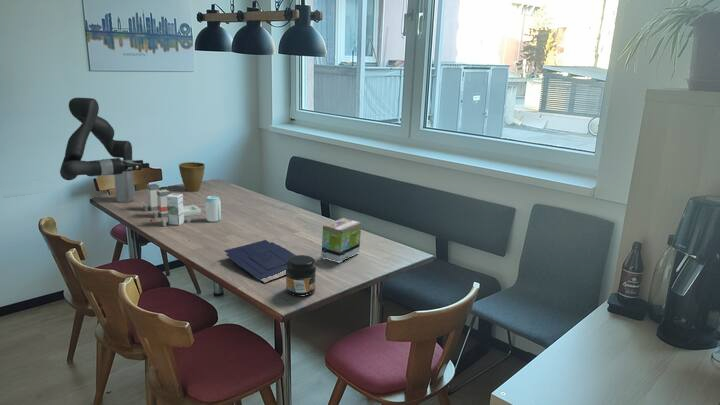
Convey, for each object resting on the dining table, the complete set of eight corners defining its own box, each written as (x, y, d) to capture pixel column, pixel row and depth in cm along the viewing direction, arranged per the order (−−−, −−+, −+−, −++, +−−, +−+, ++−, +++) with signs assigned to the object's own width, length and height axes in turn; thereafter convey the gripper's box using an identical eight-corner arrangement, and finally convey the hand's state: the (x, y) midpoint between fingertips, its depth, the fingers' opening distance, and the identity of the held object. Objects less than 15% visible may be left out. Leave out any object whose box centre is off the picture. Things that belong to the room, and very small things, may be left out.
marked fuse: (158, 215, 260) (156, 190, 256) (167, 213, 263) (165, 189, 259) (161, 217, 256) (160, 192, 253) (170, 216, 259) (169, 191, 256)
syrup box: (184, 222, 251) (183, 193, 248) (179, 225, 246) (177, 196, 242) (173, 221, 252) (171, 192, 248) (167, 224, 246) (166, 195, 242)
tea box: (340, 264, 209) (341, 230, 205) (320, 258, 214) (321, 225, 210) (360, 254, 221) (361, 221, 217) (340, 248, 226) (342, 216, 222)
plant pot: (175, 192, 304) (173, 165, 300) (187, 186, 319) (186, 161, 314) (198, 194, 302) (197, 167, 298) (209, 188, 316) (209, 163, 312)
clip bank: (136, 210, 265) (135, 206, 265) (165, 206, 275) (165, 202, 274) (159, 227, 242) (159, 222, 242) (190, 221, 252) (190, 217, 251)
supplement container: (299, 300, 176) (300, 268, 173) (279, 290, 183) (279, 259, 179) (321, 291, 184) (322, 260, 180) (301, 282, 190) (302, 252, 187)
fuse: (148, 208, 270) (146, 184, 266) (157, 207, 273) (155, 183, 269) (151, 210, 267) (149, 186, 263) (160, 209, 270) (159, 185, 266)
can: (203, 220, 255) (202, 197, 252) (213, 217, 261) (212, 194, 258) (213, 223, 252) (213, 199, 248) (223, 219, 258) (223, 196, 255)
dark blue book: (268, 244, 224) (269, 237, 222) (313, 273, 205) (314, 265, 204) (219, 257, 206) (219, 249, 205) (263, 290, 188) (263, 281, 187)
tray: (174, 212, 266) (174, 207, 265) (193, 209, 272) (193, 204, 272) (182, 217, 259) (182, 212, 258) (201, 214, 265) (201, 209, 265)
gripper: (114, 161, 229) (150, 158, 239) (104, 156, 239) (140, 153, 250) (115, 177, 231) (151, 174, 241) (106, 172, 241) (141, 168, 252)
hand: (146, 163), depth 246 cm, fingers open, 8 cm apart
